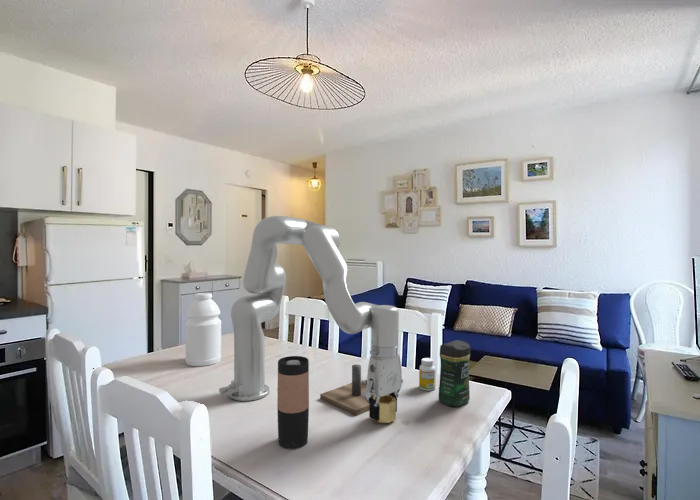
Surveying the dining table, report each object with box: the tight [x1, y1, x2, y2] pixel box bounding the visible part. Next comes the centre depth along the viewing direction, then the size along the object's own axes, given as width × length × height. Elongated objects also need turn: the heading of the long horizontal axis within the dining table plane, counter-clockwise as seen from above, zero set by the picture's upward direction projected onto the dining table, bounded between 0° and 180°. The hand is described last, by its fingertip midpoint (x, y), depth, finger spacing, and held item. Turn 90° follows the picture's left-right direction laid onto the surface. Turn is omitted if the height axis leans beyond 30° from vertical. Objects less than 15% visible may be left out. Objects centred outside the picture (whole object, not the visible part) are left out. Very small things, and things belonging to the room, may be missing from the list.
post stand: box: [319, 364, 389, 417], centre depth 117 cm, size 16×16×10 cm
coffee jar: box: [438, 339, 471, 407], centre depth 116 cm, size 10×8×19 cm
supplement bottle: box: [418, 357, 437, 392], centre depth 127 cm, size 5×5×10 cm
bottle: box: [184, 292, 223, 367], centre depth 154 cm, size 14×14×28 cm
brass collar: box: [370, 395, 397, 424], centre depth 104 cm, size 7×7×5 cm
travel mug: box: [276, 355, 310, 450], centre depth 92 cm, size 8×8×20 cm
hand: (383, 414), depth 104 cm, fingers closed on brass collar, 6 cm apart
